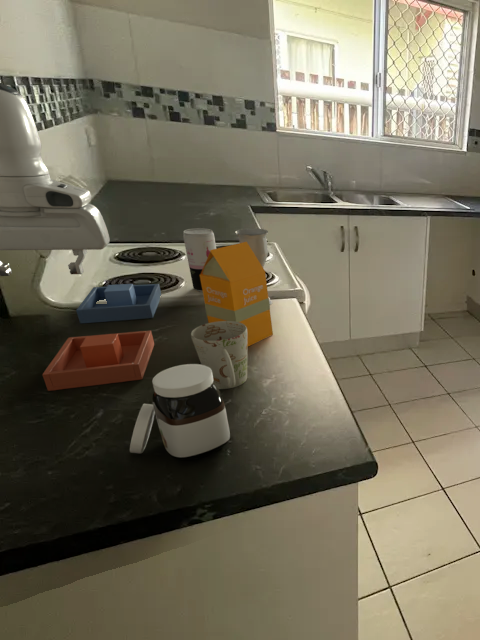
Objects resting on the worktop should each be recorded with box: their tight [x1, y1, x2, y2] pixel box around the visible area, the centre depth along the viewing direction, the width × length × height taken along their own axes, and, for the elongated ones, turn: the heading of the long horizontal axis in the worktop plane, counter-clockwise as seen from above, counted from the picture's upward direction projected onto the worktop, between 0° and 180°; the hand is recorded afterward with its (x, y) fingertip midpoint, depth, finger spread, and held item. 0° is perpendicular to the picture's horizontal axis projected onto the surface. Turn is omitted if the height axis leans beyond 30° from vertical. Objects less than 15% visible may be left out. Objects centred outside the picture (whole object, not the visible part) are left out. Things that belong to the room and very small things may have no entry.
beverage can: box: [182, 227, 217, 293], centre depth 121 cm, size 7×7×15 cm
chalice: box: [235, 227, 273, 306], centre depth 114 cm, size 7×7×18 cm
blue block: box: [104, 283, 137, 307], centre depth 107 cm, size 4×4×4 cm
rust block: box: [80, 333, 123, 368], centre depth 85 cm, size 4×4×4 cm
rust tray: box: [41, 330, 155, 392], centre depth 85 cm, size 13×15×3 cm
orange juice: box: [200, 242, 274, 348], centre depth 96 cm, size 8×9×20 cm
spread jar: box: [129, 363, 231, 461], centre depth 66 cm, size 12×11×12 cm
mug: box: [190, 321, 248, 390], centre depth 82 cm, size 8×13×10 cm, turn 40°
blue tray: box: [75, 283, 162, 324], centre depth 108 cm, size 13×15×3 cm
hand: (42, 274), depth 82 cm, fingers open, 8 cm apart
